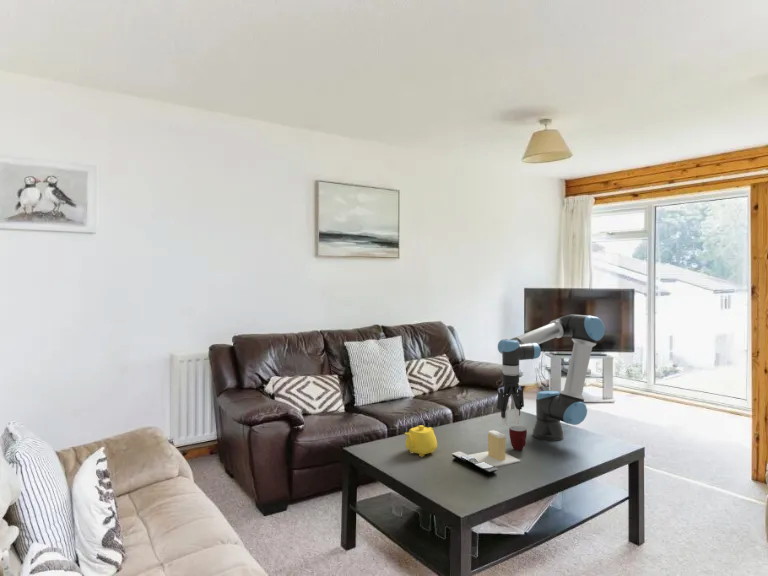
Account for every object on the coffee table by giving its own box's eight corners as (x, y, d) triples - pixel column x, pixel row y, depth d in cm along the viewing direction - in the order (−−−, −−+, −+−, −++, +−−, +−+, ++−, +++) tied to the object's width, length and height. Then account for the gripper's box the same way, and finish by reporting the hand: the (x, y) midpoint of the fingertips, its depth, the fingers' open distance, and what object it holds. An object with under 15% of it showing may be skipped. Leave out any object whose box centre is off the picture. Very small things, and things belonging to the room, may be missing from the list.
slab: (494, 453, 232) (494, 430, 231) (505, 459, 224) (505, 435, 224) (488, 454, 230) (488, 431, 230) (499, 460, 223) (499, 436, 223)
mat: (498, 450, 237) (498, 449, 237) (520, 461, 223) (520, 460, 223) (460, 457, 229) (460, 456, 229) (481, 469, 214) (481, 468, 214)
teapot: (444, 451, 236) (444, 425, 236) (415, 462, 222) (415, 434, 222) (422, 444, 246) (422, 419, 246) (393, 455, 232) (393, 427, 232)
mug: (533, 452, 234) (533, 431, 234) (518, 454, 231) (518, 433, 231) (520, 445, 244) (520, 425, 244) (505, 447, 241) (505, 427, 241)
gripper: (521, 370, 237) (521, 419, 238) (488, 374, 229) (488, 424, 230) (532, 373, 230) (532, 423, 231) (499, 377, 222) (499, 428, 223)
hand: (510, 423), depth 230 cm, fingers open, 6 cm apart
